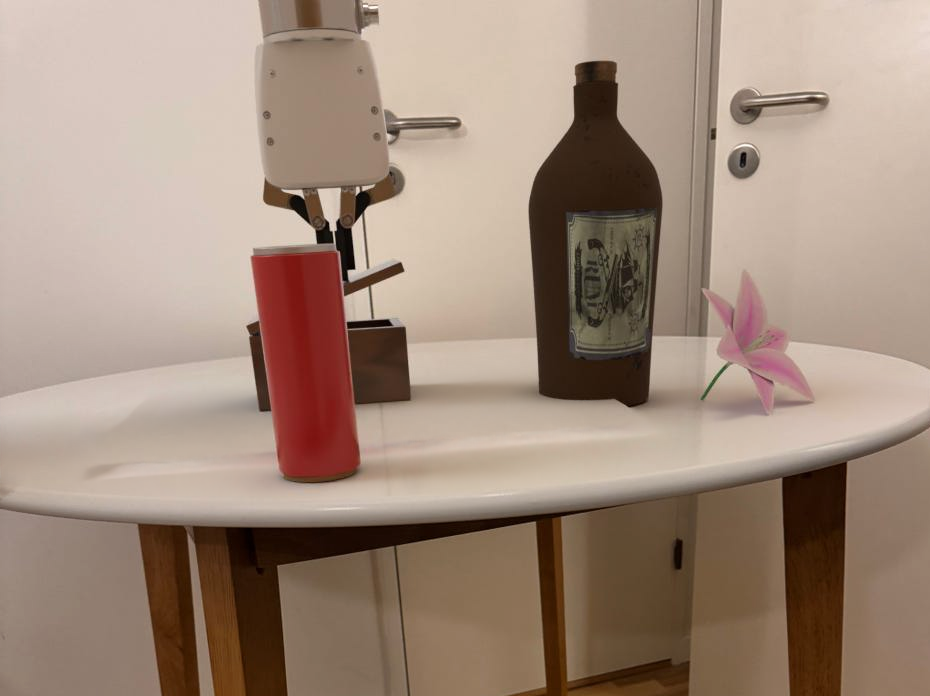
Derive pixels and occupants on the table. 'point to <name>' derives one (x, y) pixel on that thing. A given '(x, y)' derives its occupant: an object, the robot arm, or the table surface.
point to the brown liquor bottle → (595, 252)
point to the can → (307, 358)
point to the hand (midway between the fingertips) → (338, 280)
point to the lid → (353, 284)
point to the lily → (755, 344)
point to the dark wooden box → (359, 362)
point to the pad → (320, 477)
